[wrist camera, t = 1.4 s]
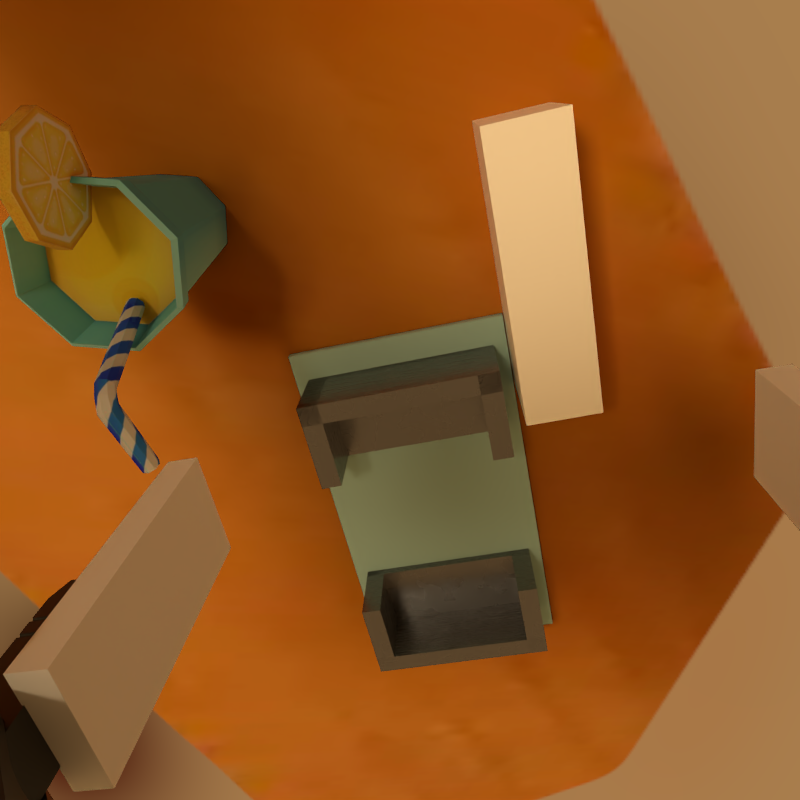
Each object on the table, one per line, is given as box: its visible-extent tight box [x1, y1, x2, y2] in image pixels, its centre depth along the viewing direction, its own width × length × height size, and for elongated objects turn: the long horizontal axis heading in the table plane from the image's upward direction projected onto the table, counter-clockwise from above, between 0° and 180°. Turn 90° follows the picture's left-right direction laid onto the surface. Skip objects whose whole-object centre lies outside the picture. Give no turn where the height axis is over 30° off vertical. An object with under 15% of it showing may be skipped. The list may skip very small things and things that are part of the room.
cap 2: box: [362, 548, 547, 671], centre depth 44 cm, size 5×11×4 cm, turn 103°
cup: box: [0, 105, 227, 473], centre depth 30 cm, size 14×8×15 cm, turn 19°
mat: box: [288, 313, 553, 625], centre depth 43 cm, size 24×13×1 cm, turn 13°
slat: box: [472, 102, 603, 426], centre depth 34 cm, size 15×4×6 cm, turn 13°
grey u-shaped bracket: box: [296, 345, 514, 489], centre depth 38 cm, size 5×11×4 cm, turn 103°
